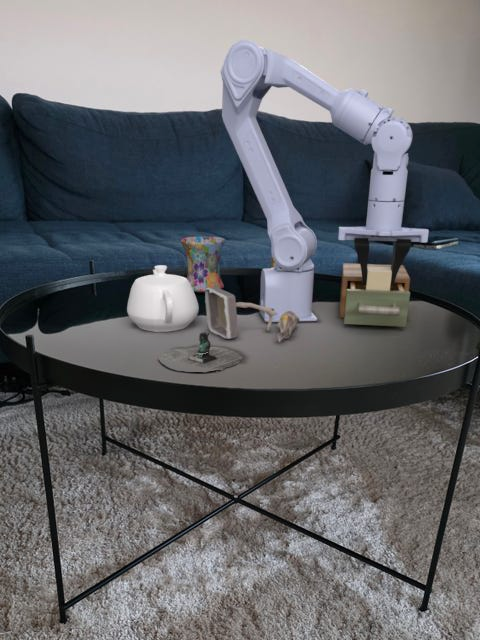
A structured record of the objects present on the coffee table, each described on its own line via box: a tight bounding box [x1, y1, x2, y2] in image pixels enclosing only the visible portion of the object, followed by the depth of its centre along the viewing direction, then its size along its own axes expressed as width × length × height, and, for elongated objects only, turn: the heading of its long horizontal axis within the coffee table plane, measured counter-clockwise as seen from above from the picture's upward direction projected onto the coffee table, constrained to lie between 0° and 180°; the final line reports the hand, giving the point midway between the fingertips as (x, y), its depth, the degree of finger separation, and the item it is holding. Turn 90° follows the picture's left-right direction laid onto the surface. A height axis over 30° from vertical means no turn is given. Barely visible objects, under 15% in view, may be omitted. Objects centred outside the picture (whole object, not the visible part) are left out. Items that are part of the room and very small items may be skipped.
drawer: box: [343, 281, 411, 328], centre depth 103 cm, size 16×10×6 cm, turn 171°
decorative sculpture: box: [204, 287, 300, 343], centre depth 97 cm, size 16×10×7 cm, turn 94°
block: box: [365, 266, 392, 291], centre depth 102 cm, size 4×4×4 cm
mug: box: [180, 235, 226, 294], centre depth 127 cm, size 12×9×11 cm
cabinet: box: [339, 262, 411, 319], centre depth 112 cm, size 13×12×8 cm
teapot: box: [126, 264, 200, 333], centre depth 102 cm, size 20×12×10 cm, turn 14°
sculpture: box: [158, 331, 243, 371], centre depth 88 cm, size 12×9×8 cm
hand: (377, 284), depth 102 cm, fingers closed on block, 4 cm apart
